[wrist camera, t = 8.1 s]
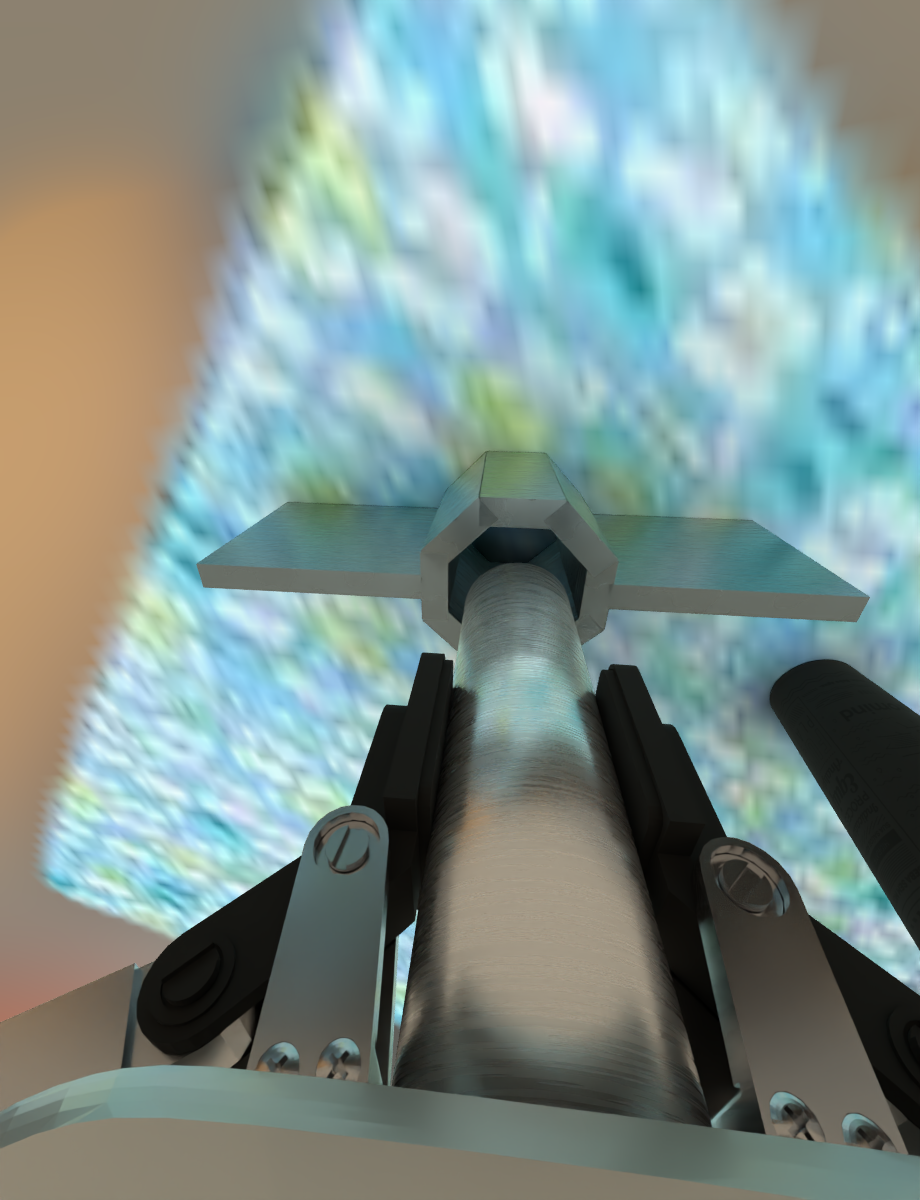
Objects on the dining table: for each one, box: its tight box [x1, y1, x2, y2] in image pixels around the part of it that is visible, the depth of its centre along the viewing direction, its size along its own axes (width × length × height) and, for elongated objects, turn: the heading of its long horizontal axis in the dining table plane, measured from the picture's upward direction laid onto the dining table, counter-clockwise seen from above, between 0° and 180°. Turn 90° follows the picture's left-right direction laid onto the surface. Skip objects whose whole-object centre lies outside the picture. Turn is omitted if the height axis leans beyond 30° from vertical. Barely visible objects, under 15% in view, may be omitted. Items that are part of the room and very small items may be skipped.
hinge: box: [197, 451, 870, 651], centre depth 19 cm, size 24×7×8 cm, turn 89°
